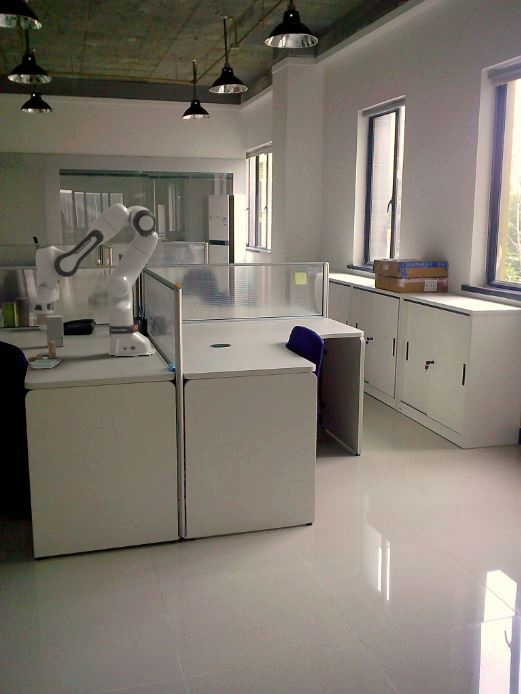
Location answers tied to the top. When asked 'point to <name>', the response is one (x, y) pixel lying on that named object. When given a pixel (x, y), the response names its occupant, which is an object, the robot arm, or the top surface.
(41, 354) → the steel block
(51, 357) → the dowel
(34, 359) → the block
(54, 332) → the skincare box
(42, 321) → the coffee cup
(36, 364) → the tray
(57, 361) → the socket
